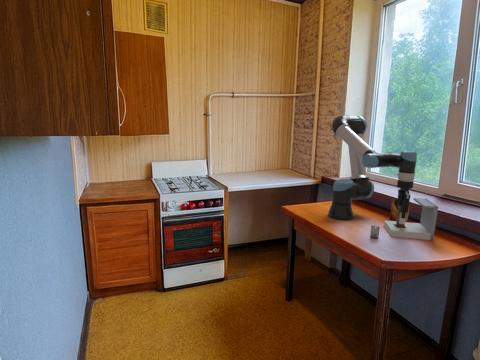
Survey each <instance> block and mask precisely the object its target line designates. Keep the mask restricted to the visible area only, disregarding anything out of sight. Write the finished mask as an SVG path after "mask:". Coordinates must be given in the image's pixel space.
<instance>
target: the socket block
mask: <svg viewBox="0 0 480 360" xmlns="http://www.w3.org/2000/svg"><path fill="white" fill-rule="evenodd" d="M413 201H415V203H417V204H418V205H420V206H421V207H422V209H421V213H420V219H419V220H420V221H419V223H418V222H408V221H407V222H405V225H404V228H397V227H396V221H391V220H384V223H383V227H384V228H385V230H386V232H387V233H388V234H389V236H390V237H393V238H394V237H395V238H404V239H414V240H415V239H416V240H424V241H425V240H427V241H434V238H435V237H434V236H435V231H436V225H437V219H438V213H439V211H438V210H439V206H438V205H436V204H435V203H434V202H432V201H430V200H429V199H428V198H423V197H422V198H421V197H420V198H419V197H418V198H417V197H413Z"/></svg>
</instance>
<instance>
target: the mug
mask: <svg viewBox="0 0 480 360" xmlns="http://www.w3.org/2000/svg"><path fill="white" fill-rule="evenodd" d="M397 200H398V199H392V200H391V204H390V205H391V207H390V216H389V221H397V212H398V207H397ZM410 203H411V202H410ZM410 203H409V205H410ZM409 212H410V207H409V208H408V212H407V213H406V218H405V222H408V221H409V220H408V219H409Z"/></svg>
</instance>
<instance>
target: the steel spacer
mask: <svg viewBox="0 0 480 360" xmlns="http://www.w3.org/2000/svg"><path fill="white" fill-rule="evenodd" d="M369 233H370V234H369V237H370V238H371V239H372V240H378V239H379V235H380V226H379V225H371V226H370V232H369Z"/></svg>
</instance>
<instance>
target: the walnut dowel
mask: <svg viewBox="0 0 480 360" xmlns="http://www.w3.org/2000/svg"><path fill="white" fill-rule="evenodd" d="M400 211H401V206H398V213H397V221H396V227H397V228H404V225H405V224H399V218H400Z"/></svg>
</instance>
